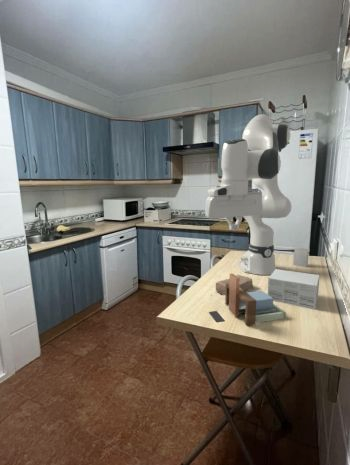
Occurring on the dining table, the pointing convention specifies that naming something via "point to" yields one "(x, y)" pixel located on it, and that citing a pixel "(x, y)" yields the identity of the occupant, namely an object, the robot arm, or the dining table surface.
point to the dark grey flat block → (216, 316)
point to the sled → (236, 302)
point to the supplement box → (294, 288)
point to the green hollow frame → (271, 315)
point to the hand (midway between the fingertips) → (234, 229)
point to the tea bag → (300, 257)
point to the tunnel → (250, 305)
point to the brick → (243, 284)
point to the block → (262, 300)
